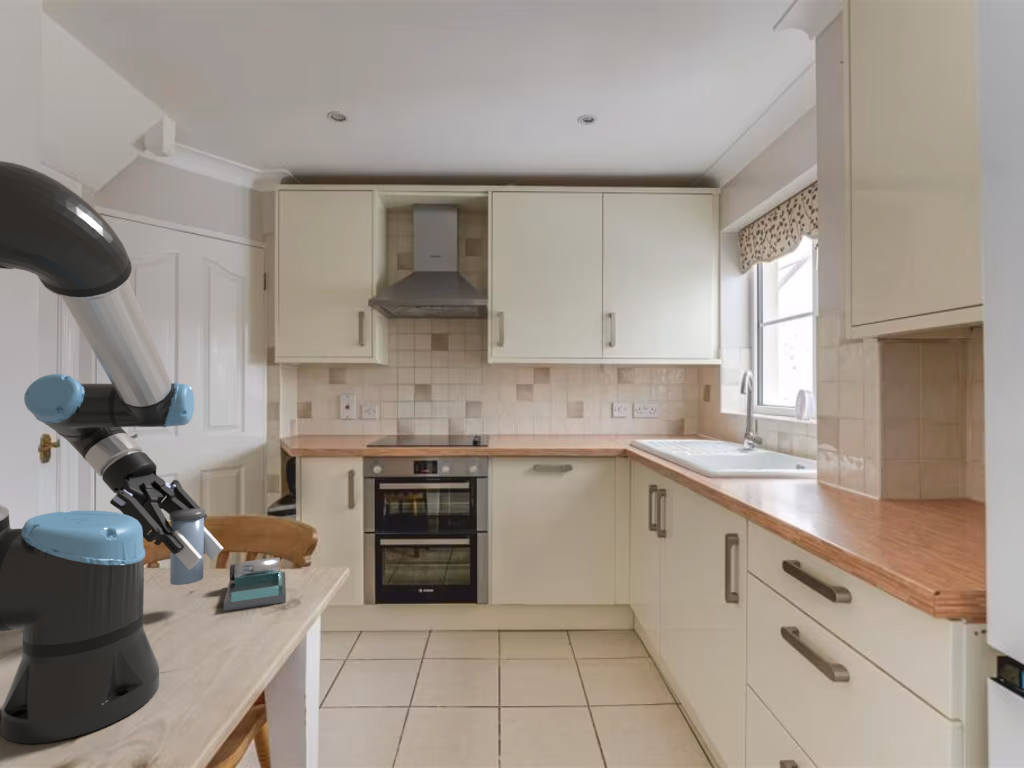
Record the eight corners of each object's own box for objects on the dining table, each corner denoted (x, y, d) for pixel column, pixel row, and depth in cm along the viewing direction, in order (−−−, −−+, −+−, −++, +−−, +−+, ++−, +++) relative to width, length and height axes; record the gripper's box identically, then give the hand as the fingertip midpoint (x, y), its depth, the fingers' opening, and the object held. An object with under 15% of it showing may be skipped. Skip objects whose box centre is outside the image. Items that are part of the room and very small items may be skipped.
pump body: (202, 582, 91) (203, 513, 92) (166, 587, 89) (166, 516, 90) (206, 573, 96) (207, 507, 97) (171, 577, 94) (172, 510, 95)
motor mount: (285, 602, 96) (285, 574, 96) (223, 611, 92) (223, 582, 92) (285, 579, 108) (285, 554, 108) (230, 586, 104) (230, 560, 104)
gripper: (148, 472, 104) (225, 558, 102) (61, 487, 86) (152, 591, 84) (174, 445, 104) (251, 531, 101) (91, 455, 86) (183, 559, 83)
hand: (206, 558), depth 93 cm, fingers closed on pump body, 5 cm apart
